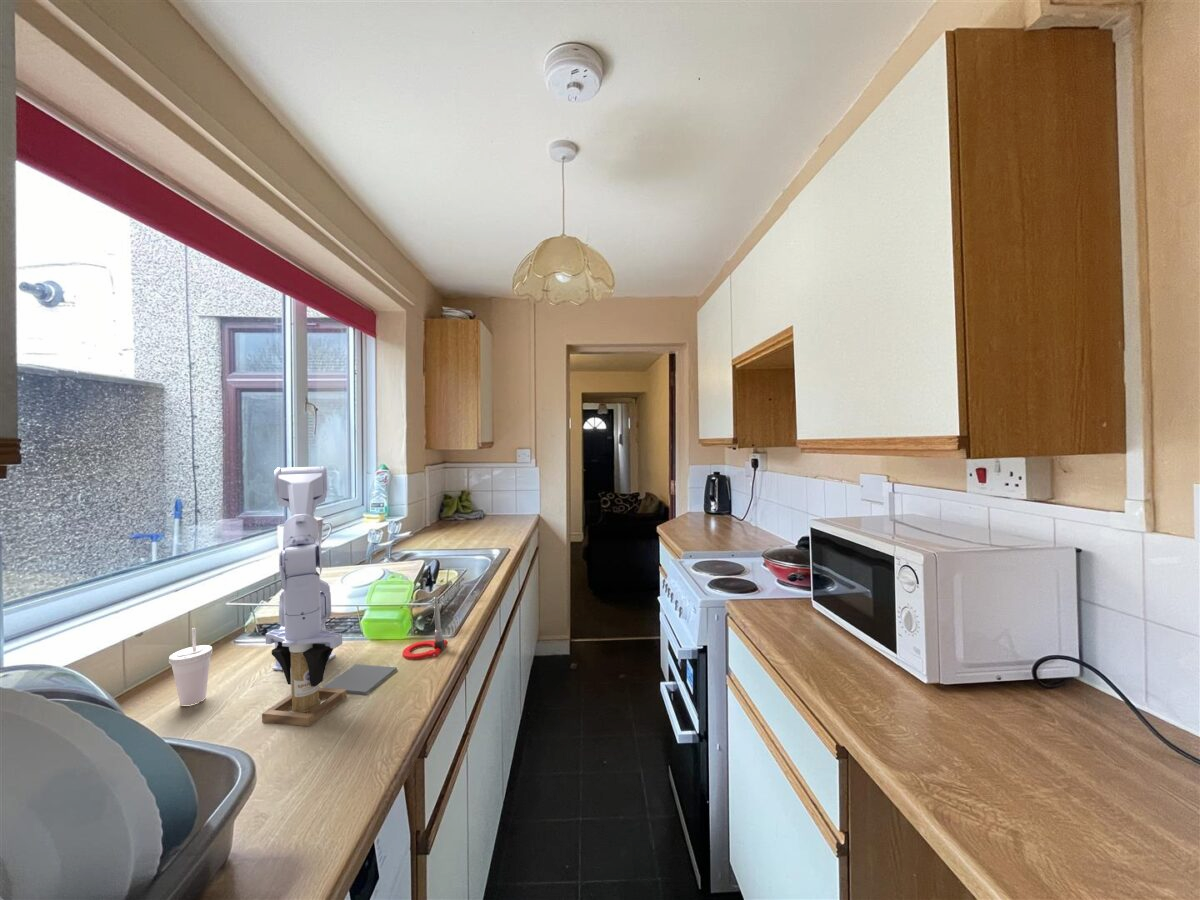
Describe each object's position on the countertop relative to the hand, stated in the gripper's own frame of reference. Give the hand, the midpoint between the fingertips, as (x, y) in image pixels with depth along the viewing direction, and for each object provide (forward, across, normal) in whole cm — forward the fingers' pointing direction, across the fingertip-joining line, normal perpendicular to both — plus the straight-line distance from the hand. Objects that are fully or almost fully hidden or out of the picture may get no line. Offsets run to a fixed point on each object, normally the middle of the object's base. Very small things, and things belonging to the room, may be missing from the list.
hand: (305, 682), depth 88 cm
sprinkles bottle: (+5, 0, 0) cm, 5 cm away
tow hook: (+5, +9, +25) cm, 27 cm away
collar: (+5, 0, 0) cm, 5 cm away
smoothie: (+5, -24, -1) cm, 25 cm away
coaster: (+5, +3, +11) cm, 12 cm away
